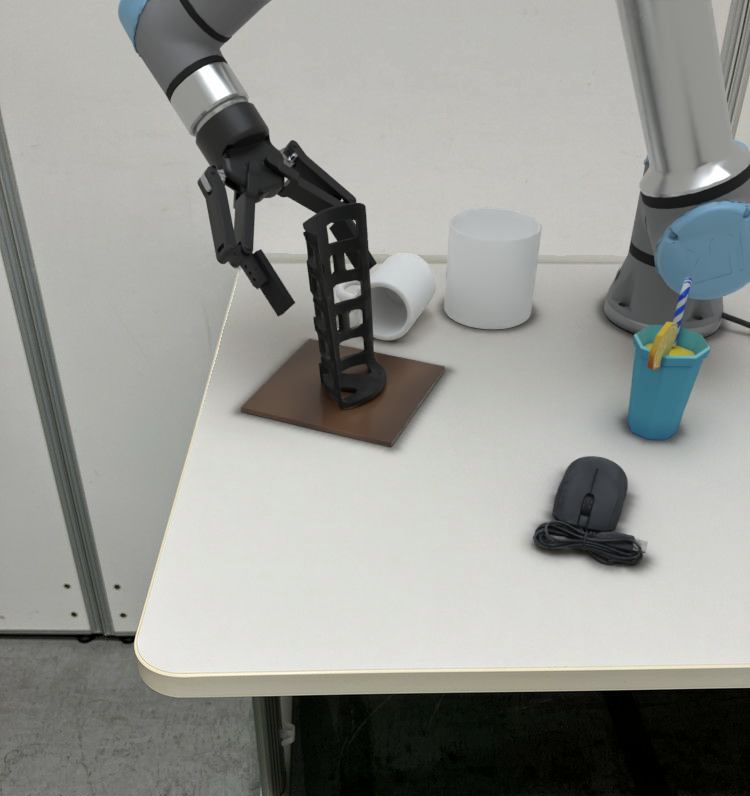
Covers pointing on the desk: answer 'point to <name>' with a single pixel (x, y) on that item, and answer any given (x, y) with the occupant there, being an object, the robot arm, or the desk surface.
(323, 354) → the holder
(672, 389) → the cup
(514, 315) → the cup
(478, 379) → the desk surface
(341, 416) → the board
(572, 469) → the computer mouse
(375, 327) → the mug
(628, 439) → the desk surface
